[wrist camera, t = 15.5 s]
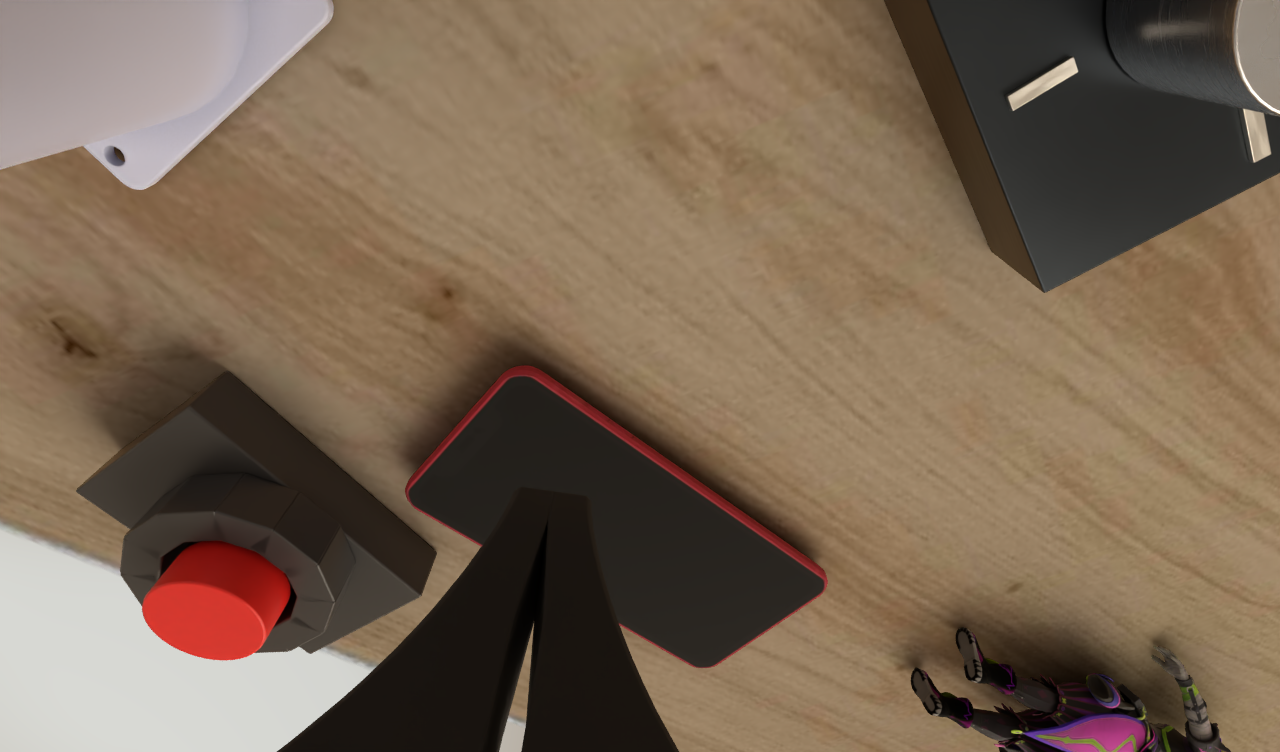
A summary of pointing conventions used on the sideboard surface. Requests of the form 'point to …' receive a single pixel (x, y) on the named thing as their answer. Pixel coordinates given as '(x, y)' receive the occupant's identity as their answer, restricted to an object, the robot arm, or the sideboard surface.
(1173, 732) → the character figure
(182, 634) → the light button
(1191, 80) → the dimmer knob
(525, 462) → the smartphone
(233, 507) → the light switch
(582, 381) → the sideboard surface
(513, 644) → the robot arm
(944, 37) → the dimmer panel
